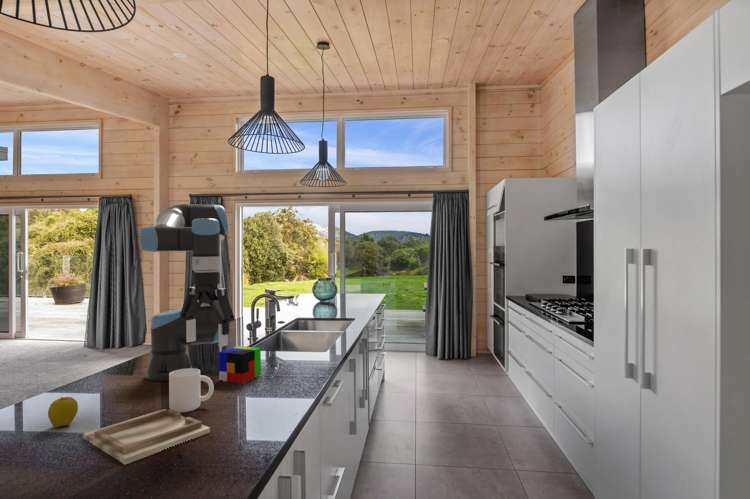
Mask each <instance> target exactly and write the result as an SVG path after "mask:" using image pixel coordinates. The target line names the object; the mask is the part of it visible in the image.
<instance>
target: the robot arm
mask: <svg viewBox="0 0 750 499" xmlns="http://www.w3.org/2000/svg"><path fill="white" fill-rule="evenodd" d="M228 226H229V225H228V217H227V212H226V209H225V207H224V206H223V205H220V204H213V203H211V204H196V203H195V204H192V203H191V204H188V203H182V204H181V203H180V204H175V205H172V206H170V207H167V208H165V209H163V210H162V211H160V213H159V214H158V215H157V217H156V223H155V225H154V226H153V225H152V226H151V225H150V226H143V227H142V228H141V229H140V232H139V244H140V245H139V246H140V249H141V250H142V251H143V252H152V253H156V252H157V253H159V252H191V253H192V254H191V257H192V263H191V264H192V265H191V266H192V271H194V272H192V274H191V275H192V276H191V277H192V285H193V286H189V287H188V286H187V288H186V296H185V298H184V301H183V305H182V308H179V309H173V310H167V311H162V312H159V313H156V314H154V315H152V317H151V321H150V322H151V323H150V338H151V339H150V341H151V342H150V346H151V347H150V349H151V350H150V351H151V353H150V354H151V355H150V358H149V362H148V363H147V364H148V365H147V367H146V371H145V379H146V380H148V381H153V382H166V381H168V382H169V373H171V372H173V371H176V370H180V369H188V368H193V366H192V363H191V360H190V358H189V355H188V351H187V350H188V349H187V346H191V345H194V346H195V345H203V344H216V343H218V347H219V348H222V347H225V346H226V347H227V346H229V334H230V323H231V322H233V321H235V319H236V318H235V315H234V312H233V310H232V307H231V304H230V301H229V299H228V296H227V288H225V287H223V288H222V261H221V260H222V256H221V255H222V254H221V252H222V251H221V242H222V241H224V240H225V235H228V234H229V227H228Z"/></svg>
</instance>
